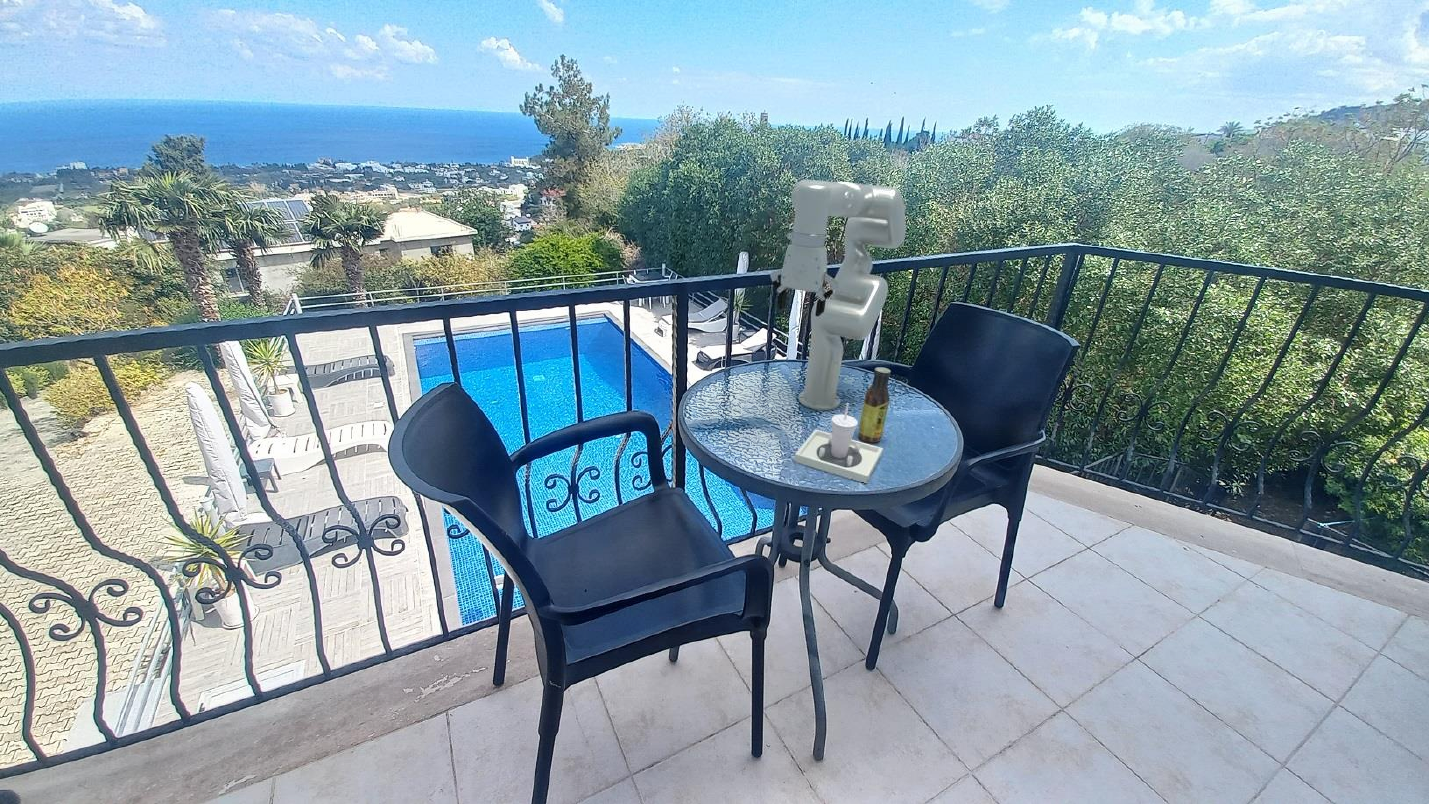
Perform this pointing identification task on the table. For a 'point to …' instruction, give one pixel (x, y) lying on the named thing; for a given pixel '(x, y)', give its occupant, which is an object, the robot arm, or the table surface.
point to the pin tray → (852, 466)
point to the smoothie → (842, 433)
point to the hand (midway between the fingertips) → (800, 311)
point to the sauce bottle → (875, 407)
